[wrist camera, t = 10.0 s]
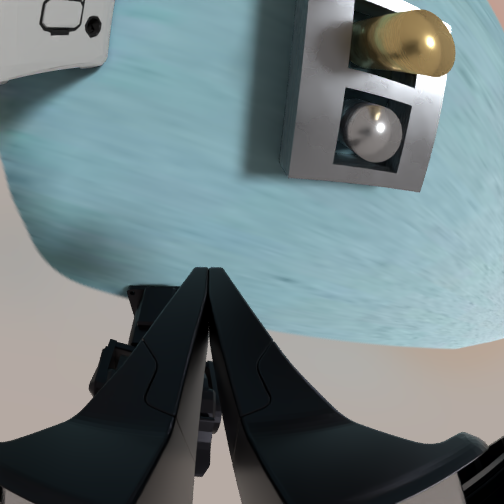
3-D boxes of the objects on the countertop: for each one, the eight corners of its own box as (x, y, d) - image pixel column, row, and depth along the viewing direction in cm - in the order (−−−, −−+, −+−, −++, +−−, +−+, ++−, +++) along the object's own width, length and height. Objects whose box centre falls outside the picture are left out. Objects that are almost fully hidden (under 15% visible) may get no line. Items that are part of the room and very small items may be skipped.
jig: (399, 176, 20) (419, 192, 17) (279, 161, 18) (288, 177, 16) (425, 26, 12) (450, 26, 10) (297, -17, 11) (311, -30, 8)
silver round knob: (370, 149, 18) (395, 166, 16) (326, 142, 18) (346, 158, 15) (379, 104, 16) (406, 113, 13) (334, 93, 16) (356, 99, 13)
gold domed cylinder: (384, 74, 15) (451, 86, 9) (338, 61, 14) (397, 63, 9) (389, 30, 13) (456, 27, 7) (343, 15, 12) (402, -3, 7)
